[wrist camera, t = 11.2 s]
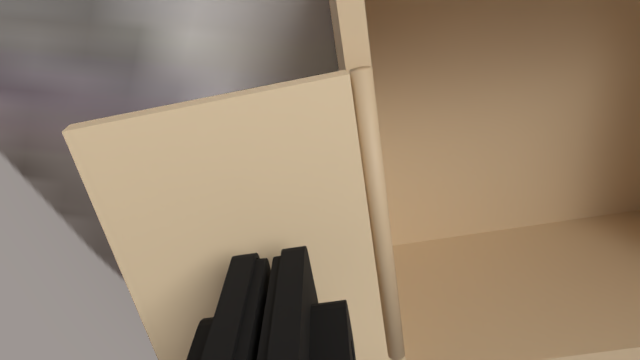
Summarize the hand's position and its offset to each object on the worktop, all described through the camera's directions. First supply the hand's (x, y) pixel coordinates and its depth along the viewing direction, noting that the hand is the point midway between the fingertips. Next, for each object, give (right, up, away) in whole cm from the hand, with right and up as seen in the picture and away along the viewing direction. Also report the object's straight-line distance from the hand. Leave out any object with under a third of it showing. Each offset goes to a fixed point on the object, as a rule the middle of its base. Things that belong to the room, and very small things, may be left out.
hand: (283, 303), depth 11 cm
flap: (+2, +2, +1) cm, 3 cm away
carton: (+8, +6, +9) cm, 14 cm away
